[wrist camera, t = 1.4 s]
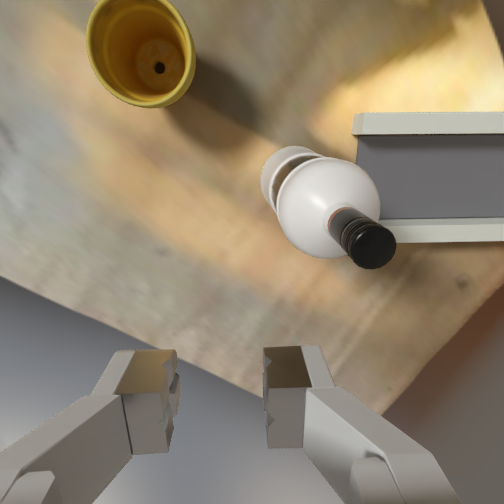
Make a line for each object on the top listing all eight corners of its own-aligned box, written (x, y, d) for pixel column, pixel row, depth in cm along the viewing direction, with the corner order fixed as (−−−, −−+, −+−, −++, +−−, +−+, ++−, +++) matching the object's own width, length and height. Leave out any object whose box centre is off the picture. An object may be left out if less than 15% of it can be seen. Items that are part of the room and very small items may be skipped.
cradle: (353, 114, 43) (367, 112, 38) (572, 113, 44) (612, 110, 39) (342, 235, 49) (353, 246, 44) (535, 231, 50) (566, 242, 45)
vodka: (277, 133, 44) (347, 130, 15) (336, 163, 45) (495, 209, 17) (249, 195, 46) (263, 288, 18) (304, 221, 48) (398, 343, 20)
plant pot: (168, 130, 43) (149, 129, 34) (103, 70, 40) (63, 51, 31) (220, 66, 41) (214, 46, 31) (154, -2, 38) (126, -46, 29)
